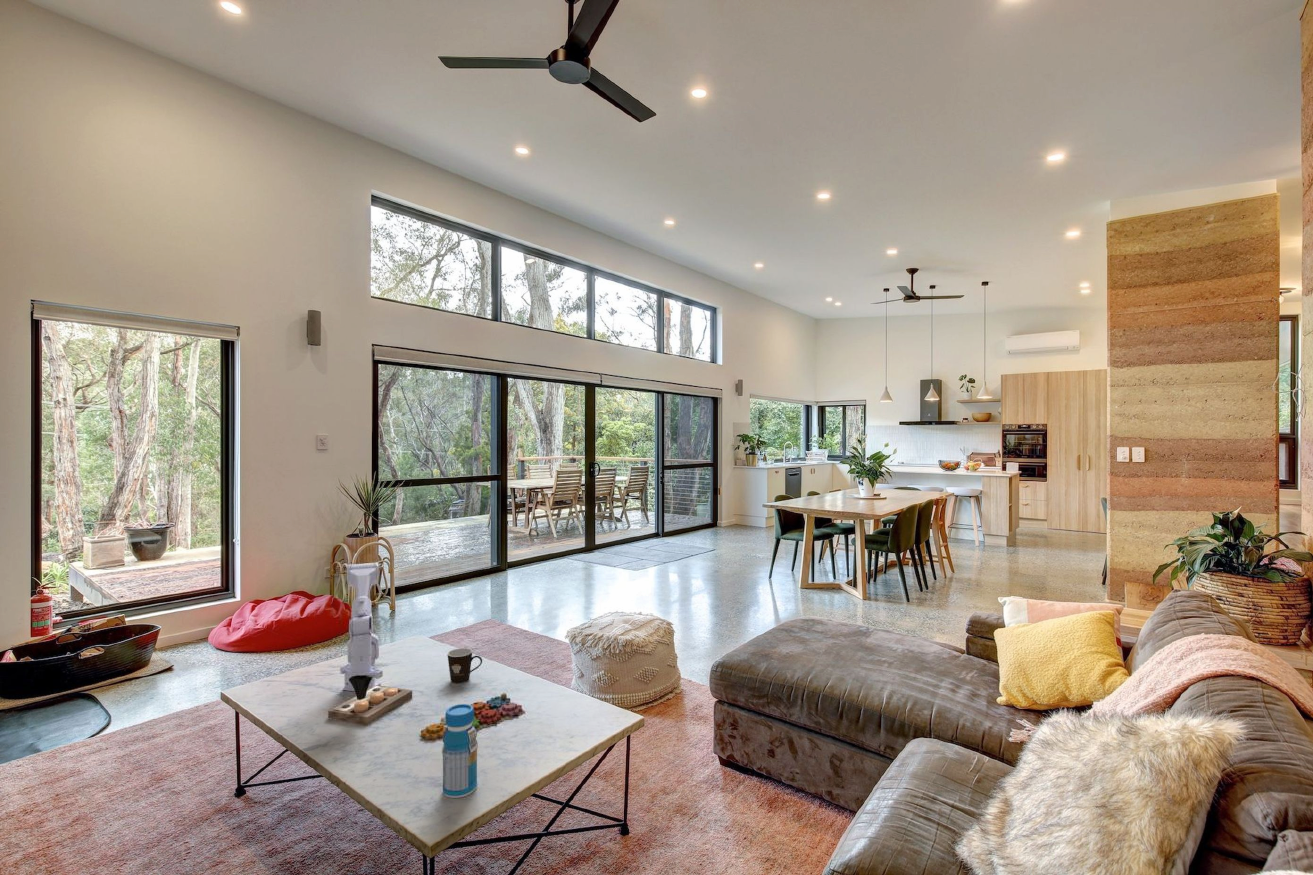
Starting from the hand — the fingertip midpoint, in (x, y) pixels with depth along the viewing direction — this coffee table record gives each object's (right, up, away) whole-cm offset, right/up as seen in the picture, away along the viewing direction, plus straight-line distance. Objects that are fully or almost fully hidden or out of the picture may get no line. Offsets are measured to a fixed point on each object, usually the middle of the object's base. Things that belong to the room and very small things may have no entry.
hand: (361, 698), depth 187 cm
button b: (+2, -4, +6) cm, 7 cm away
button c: (+4, -5, +12) cm, 14 cm away
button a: (0, -4, 0) cm, 4 cm away
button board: (0, -6, +7) cm, 9 cm away
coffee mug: (+23, -6, +28) cm, 37 cm away
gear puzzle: (+34, -7, -2) cm, 35 cm away
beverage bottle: (+43, -6, -38) cm, 58 cm away
